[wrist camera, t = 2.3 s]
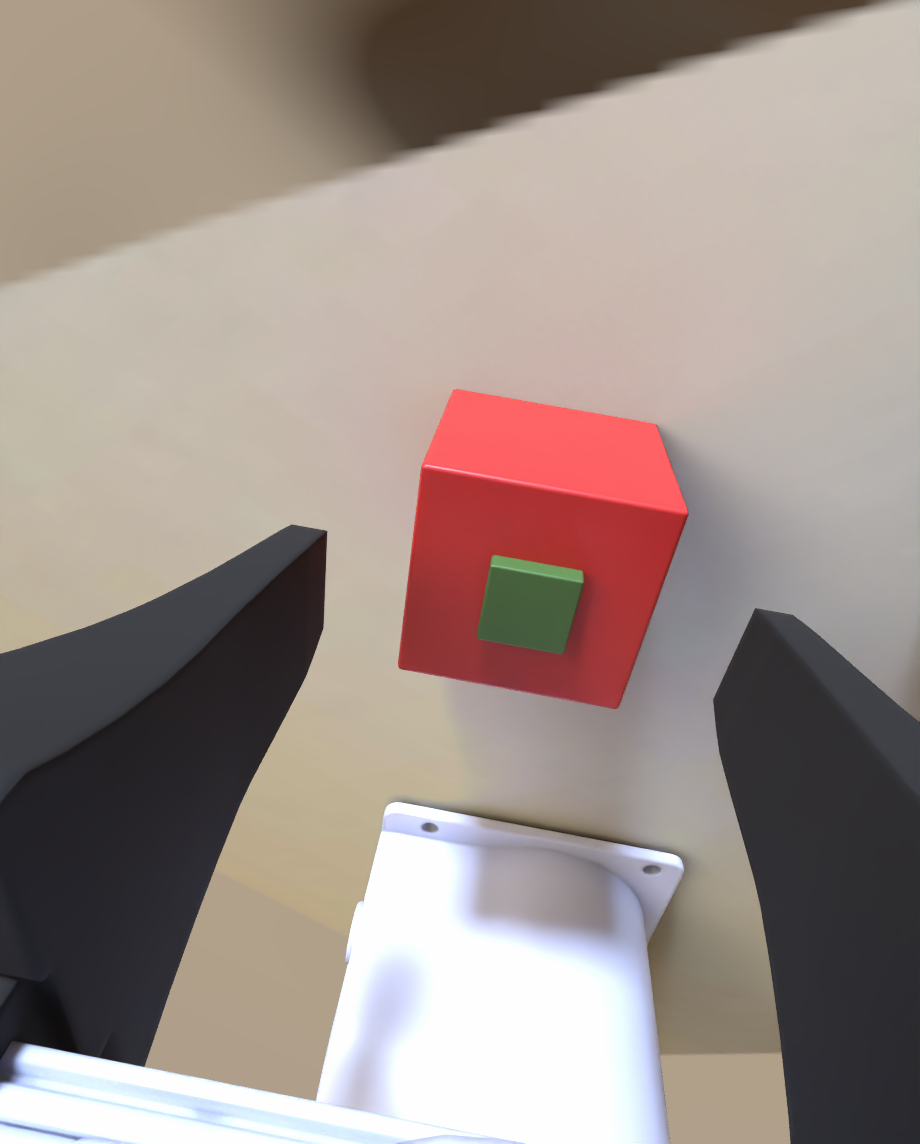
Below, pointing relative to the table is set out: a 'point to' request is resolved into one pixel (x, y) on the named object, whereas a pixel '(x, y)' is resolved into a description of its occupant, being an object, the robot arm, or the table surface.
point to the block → (538, 548)
